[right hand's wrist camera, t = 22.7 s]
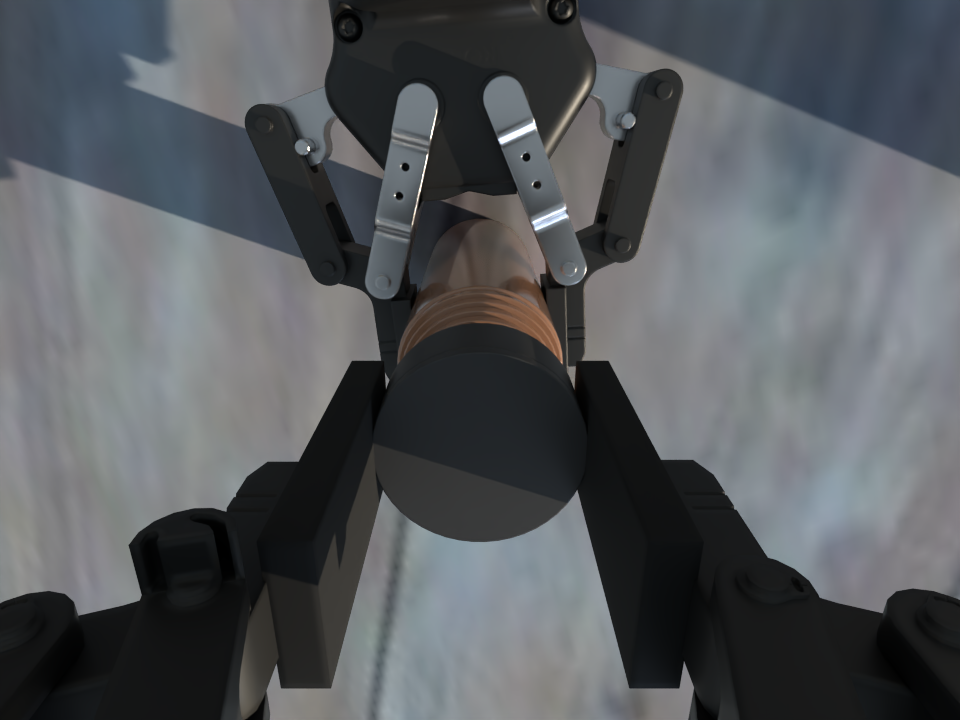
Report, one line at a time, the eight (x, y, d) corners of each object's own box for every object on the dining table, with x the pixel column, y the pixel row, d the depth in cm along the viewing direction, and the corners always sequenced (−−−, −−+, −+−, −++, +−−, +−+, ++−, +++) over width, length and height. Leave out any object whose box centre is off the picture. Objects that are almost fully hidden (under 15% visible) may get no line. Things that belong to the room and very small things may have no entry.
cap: (354, 448, 15) (337, 493, 13) (435, 287, 13) (428, 312, 12) (518, 519, 16) (523, 570, 14) (612, 374, 14) (631, 411, 12)
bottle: (448, 329, 30) (416, 545, 15) (415, 236, 28) (341, 373, 13) (541, 300, 29) (608, 494, 14) (514, 204, 27) (555, 308, 12)
